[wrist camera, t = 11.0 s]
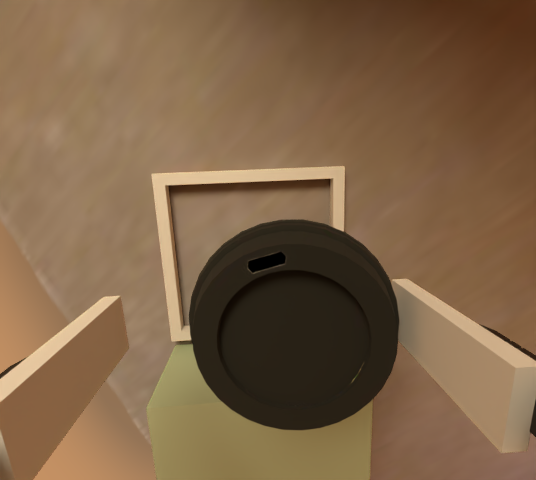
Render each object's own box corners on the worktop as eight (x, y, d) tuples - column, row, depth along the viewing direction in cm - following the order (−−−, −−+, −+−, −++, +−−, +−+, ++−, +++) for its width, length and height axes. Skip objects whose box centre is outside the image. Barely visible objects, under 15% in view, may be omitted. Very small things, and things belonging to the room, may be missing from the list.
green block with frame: (155, 174, 24) (110, 169, 17) (341, 166, 25) (381, 158, 17) (184, 418, 29) (160, 503, 21) (338, 405, 30) (369, 482, 22)
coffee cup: (253, 314, 28) (220, 462, 13) (221, 219, 26) (139, 266, 11) (352, 287, 26) (437, 417, 12) (324, 187, 25) (385, 191, 10)
